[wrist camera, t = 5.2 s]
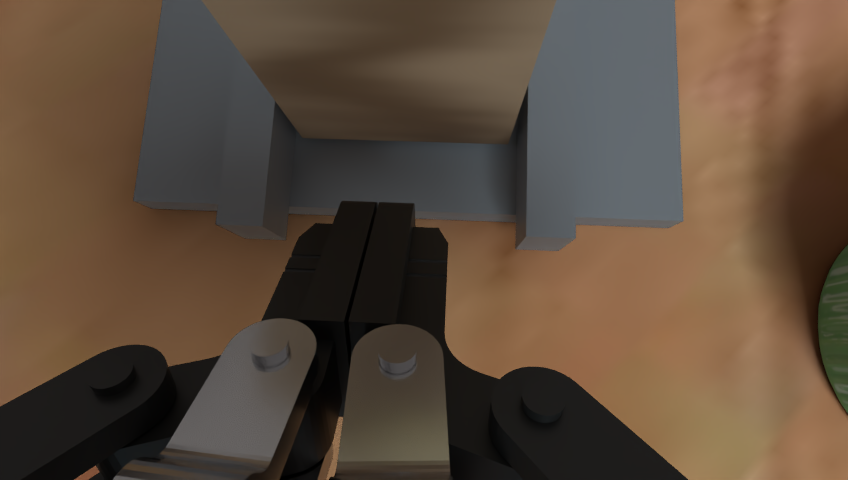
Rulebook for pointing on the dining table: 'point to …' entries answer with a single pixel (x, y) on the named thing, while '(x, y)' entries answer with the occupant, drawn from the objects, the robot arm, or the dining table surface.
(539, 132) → the mount
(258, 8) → the brown bottle-shaped block
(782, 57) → the dining table surface
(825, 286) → the ramekin
